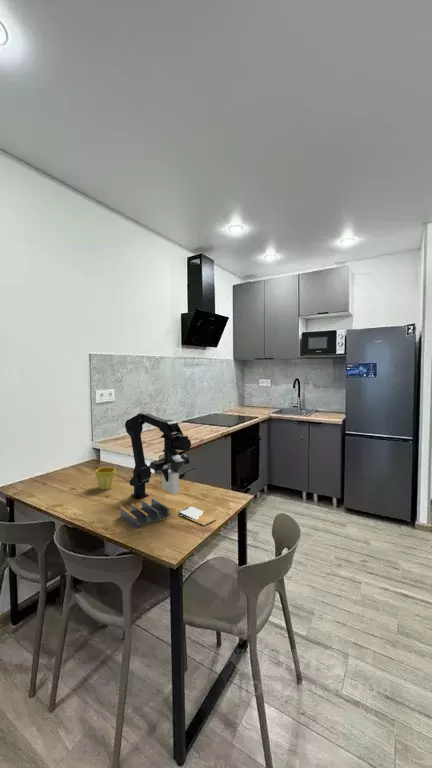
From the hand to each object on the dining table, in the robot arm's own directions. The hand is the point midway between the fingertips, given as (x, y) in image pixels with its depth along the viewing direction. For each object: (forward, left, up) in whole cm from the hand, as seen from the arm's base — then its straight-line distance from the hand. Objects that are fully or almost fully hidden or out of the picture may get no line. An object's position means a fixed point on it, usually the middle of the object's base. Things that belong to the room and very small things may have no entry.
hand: (170, 480), depth 150 cm
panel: (0, 0, -4) cm, 4 cm away
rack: (+3, -15, -12) cm, 19 cm away
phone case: (+17, +3, -13) cm, 21 cm away
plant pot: (-42, -15, -12) cm, 46 cm away
